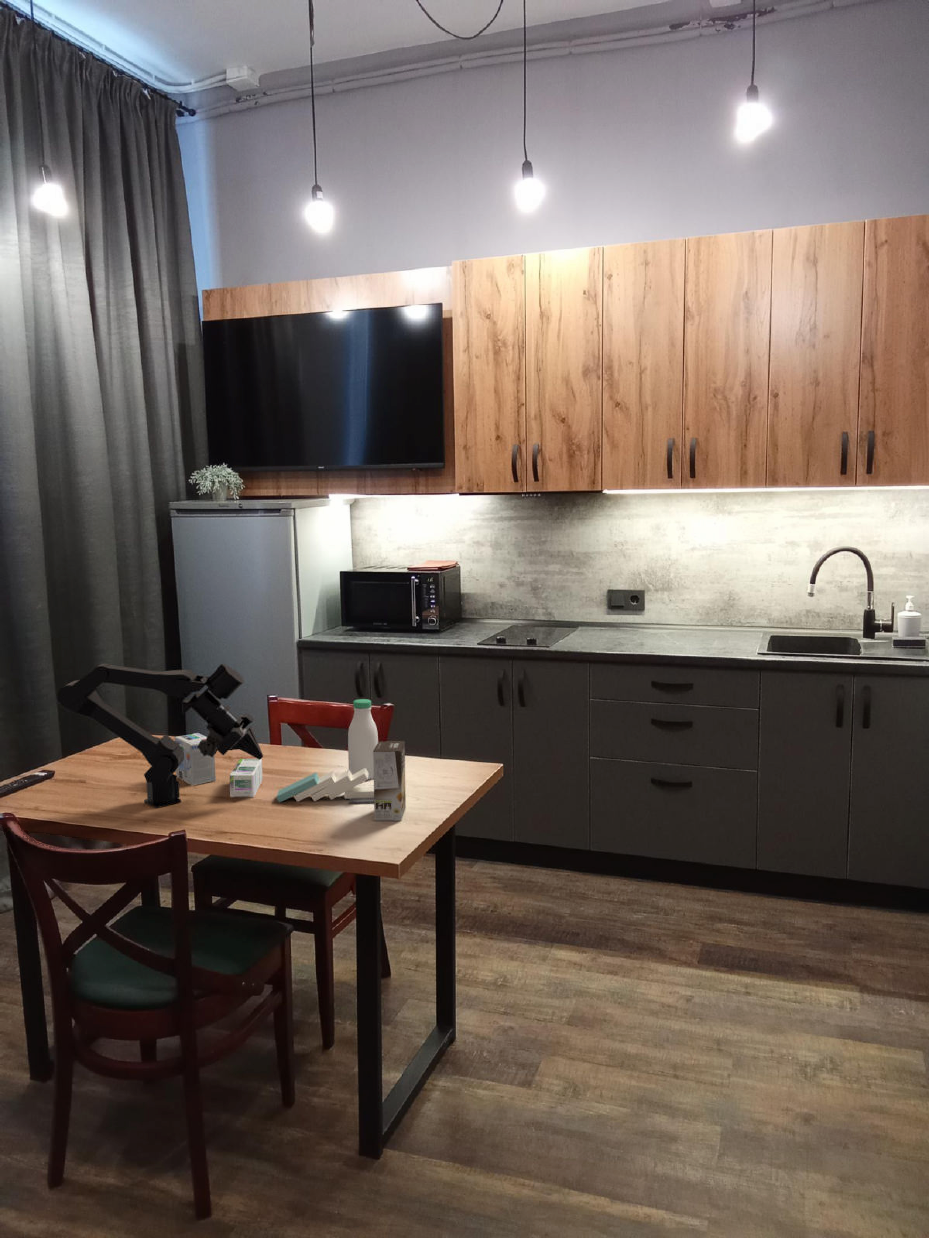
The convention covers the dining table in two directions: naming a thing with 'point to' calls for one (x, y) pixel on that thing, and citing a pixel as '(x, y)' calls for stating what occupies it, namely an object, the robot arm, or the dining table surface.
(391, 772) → the coffee box
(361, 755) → the milk bottle
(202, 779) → the light bulb box
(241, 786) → the syrup box
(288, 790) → the domino
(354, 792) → the domino
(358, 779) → the domino
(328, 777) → the domino
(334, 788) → the domino
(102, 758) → the dining table surface
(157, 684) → the robot arm
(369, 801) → the mat
